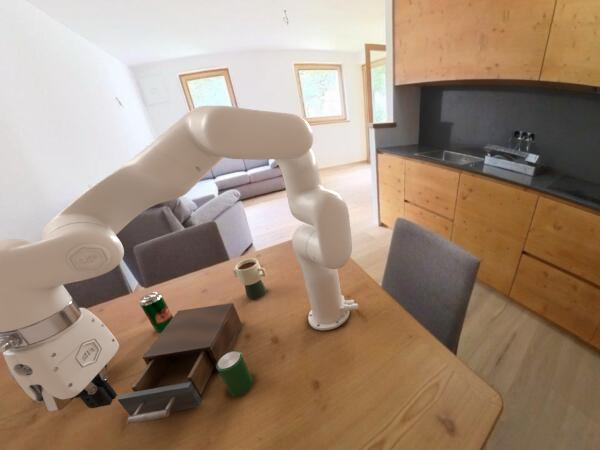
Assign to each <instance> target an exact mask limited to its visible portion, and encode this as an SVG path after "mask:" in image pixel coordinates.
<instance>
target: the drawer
mask: <svg viewBox="0 0 600 450" xmlns="http://www.w3.org/2000/svg"><path fill="white" fill-rule="evenodd" d="M214 367H215V365H214V363H213V361H212V359H211V357H210V355H209V353H208V351H207V350H203V351H196V352H190V353H184V354H178V355H172V356H166V357H160V358H154V359H151V361H150V362H149V364H148V365H147V364H146V366H145V367H144V368H143V370H142V372H140V374H139V376H138V377H137V378H136V380H135V381H134V383H133V384H132V386H131V387H130V389H131V390H132V391H131V392H126V393H120V395H119V397H118V398H117V401H118V403H119V404H120V405H121V406H122V408H123V409H124V410H125V411H126V413H127V414H128V415H129V417H128V418H127V420H126V423H127V424H128V425H132V424H136V423H142V422H148V421H152V420H158V419H162V418H168V417H169V416H170V414H171V413H172V412H178V411H183V410H187V409H194V408H199V407H201V405H202V403H203V399H202V398H201V395H202V393H203V392H204V390H205V387H206V386H207V383H208V381H209V379H210V377H211V375H212V373H213V372H212V371H213V369H214Z"/></svg>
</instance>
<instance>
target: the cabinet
mask: <svg viewBox="0 0 600 450" xmlns="http://www.w3.org/2000/svg"><path fill="white" fill-rule="evenodd" d="M242 325H243V324H242V322H241V319H240V317H239V314H238V312H237V309H236V307H235V304H234V303H233V302H229V303H222V304H215V305H208V306H201V307H195V308H188V309H181V310H177V312H176V313H175V314H174V315H173V318H172V320H171V321H170V322H169V324H168V325H167V326H166V328H165V329H164V330H163V331H162V332H160V333H159V335H158V336H157V337H156V339H155V340H154V342H153V343H152V344H151V345H150V347H149V348H148V349H147V351H146V352H145V353H144V355H143V356H142V360H143V361H144V363H145V364H146V366H147V365H148V364H149V362H150V361H151V359H154V358H160V357H166V356H172V355H178V354H184V353H190V352H196V351H203V350H207V351H208V353H209V355H210V357H211V359H212V361H213V363H214V365H215V367H214V369H213V371H212V373H214V372H215V373H216V372H218V370H217V367H216V365H217V362H218V361H219V359H220V358H221V357H222V356H224V355H225V354H227V353H229V352H231V351H232V348H233V346H234V343H235V341H236V339H237V337H238V335H239V333H240V330H241V329H242Z"/></svg>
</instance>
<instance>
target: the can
mask: <svg viewBox="0 0 600 450" xmlns="http://www.w3.org/2000/svg"><path fill="white" fill-rule="evenodd" d="M216 367H217V370H218V371H217V372H218V373H219V376H220V377H221V379H222V382H223V384H224V385H225V387H226V389H227V391H228V393H229V394H230V395H231V396H232V397H238V396H241V395H243V394H245V393H246V392H248V390H249V389H250V388H251V387H252V385H253V377H252V375H251V372H250V369H249V367H248V366H247V363H246V360H245V358H244V356H243V354H242V352H241V351H238V350H231V351H230V352H229V353H227V354H225V355H224V356H222V357H221V358H220V359H219V361H218V362H217V365H216Z"/></svg>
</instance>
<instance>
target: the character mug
mask: <svg viewBox="0 0 600 450" xmlns="http://www.w3.org/2000/svg"><path fill="white" fill-rule="evenodd" d="M232 273H233V276H234V277H235V278H238V280H239V283H240V284H241V285H242V286H244V290H245V294H246V298H247V299H249V300H256V299H259V298H261V297H263V296H264V295H265V294H266V292H267V288H266V286H265V285H264V283H263V281H262V277H266V276H267V272H266V269H265V267H261V265H260V263H259V260H258V259H257V258H254V257H252V258H251V257H250V258H246V259H243V260H241V261H239V262H238V263H236V265H235V266H234V268H232Z"/></svg>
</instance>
